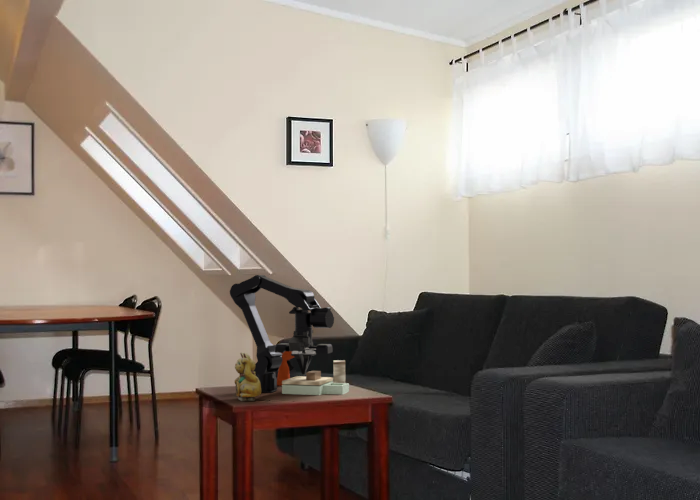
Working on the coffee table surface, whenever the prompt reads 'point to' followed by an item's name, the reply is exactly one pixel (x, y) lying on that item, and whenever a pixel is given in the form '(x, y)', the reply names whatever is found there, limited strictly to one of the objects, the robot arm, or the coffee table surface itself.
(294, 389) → the pale green tray
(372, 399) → the coffee table surface
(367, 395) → the coffee table surface
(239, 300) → the robot arm
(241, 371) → the decorative figurine
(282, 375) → the toy drill
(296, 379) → the lid
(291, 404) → the coffee table surface
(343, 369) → the cream upright cylinder
